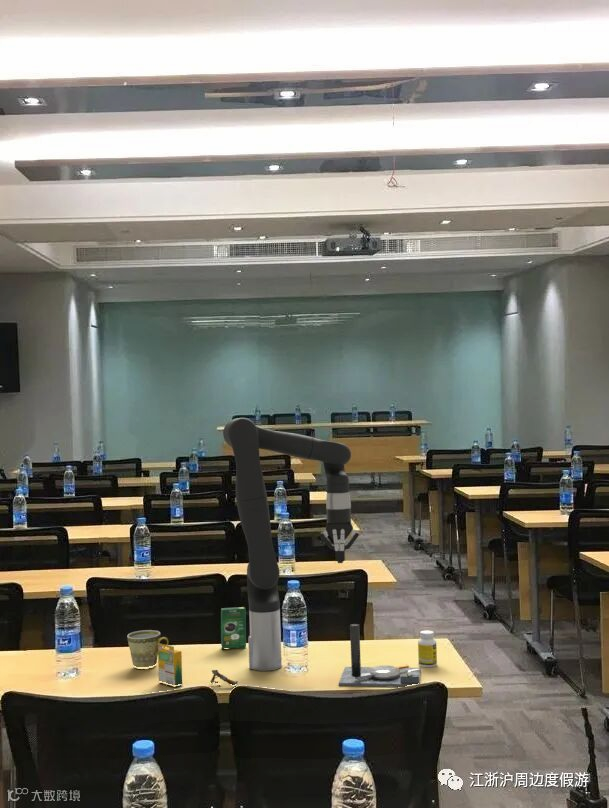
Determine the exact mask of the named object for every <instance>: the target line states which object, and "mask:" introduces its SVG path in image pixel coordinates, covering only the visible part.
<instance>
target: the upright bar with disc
mask: <svg viewBox="0 0 609 808" xmlns="http://www.w3.org/2000/svg"><path fill="white" fill-rule="evenodd" d="M349 630H350V631H349V632H350V633H349V636H350V639H349V640H350V663H351V666H350V667H351V669H352V676H353V677H355V679H357V680H360V679H365V678H370V677H371V678H374V679H393V678H397V677H399V676H400V669H405V668H410V667H409V665H408V664H403V665H399V666H394V665H393V666H392V665H377V666H376V665H375V666H370V667H371V668H369V669H368V673H366V674H361V667H362V664H361V662H362V661H361V639H360V638H361V636H360V635H361V633H360V624H358V623H353V624H349Z"/></svg>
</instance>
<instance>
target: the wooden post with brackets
mask: <svg viewBox="0 0 609 808" xmlns="http://www.w3.org/2000/svg"><path fill="white" fill-rule="evenodd" d="M211 673H212V674H213V675H212V678H211V679H210V682H211V683H212V682H213V683H214V682H215V683H218V682H219V680H218V681H216V680H215V679H217V678H219V679H220V680H221V681H223V682H226V683H227V684H229V685H230V684H232V685H235V684H237V685H238V682H239V681H238V680H236V681H234V680H232V679H229V678H228V677H227V676H226V675H224V674H221V673H220V672H219V671H218V669H212V670H211ZM213 683H212V684H213Z"/></svg>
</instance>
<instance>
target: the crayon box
mask: <svg viewBox="0 0 609 808" xmlns="http://www.w3.org/2000/svg"><path fill="white" fill-rule="evenodd" d="M165 646H166V647H165ZM163 647H165V648H163ZM182 654H183V653H182V651H181V650H177V649H175V646H173V645H169V644H168V645H166V644H164V643H158V656H157V661H158V662H157V663H158V665H157V666H158V670H157V671H158V682H159V681H162V682H166V683H168V684H172V685H178V684H182V685H183V665H182V663H183V661H182V660H183V658H182V656H183V655H182Z"/></svg>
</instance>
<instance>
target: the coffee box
mask: <svg viewBox="0 0 609 808" xmlns="http://www.w3.org/2000/svg"><path fill="white" fill-rule="evenodd" d="M246 610H247V609H246V607H245V606H241V607H236V606H235V607H224V608H222V607H221V609H220V640H221V641H220V643H221V645H220V646H222V647H221V649H222V648H223V649H224V648H236V649H243V648H244V649H246V648H247V636H246V635H247V633H246V630H247V629H246V628H247V627H246V626H247V622H246V621H247V619H246V617H247V614H246V612H247V611H246ZM245 647H246V648H245Z"/></svg>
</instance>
